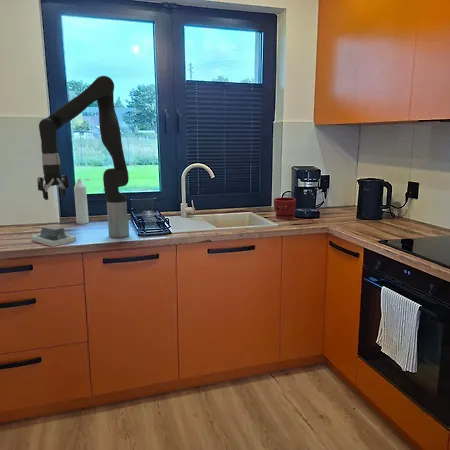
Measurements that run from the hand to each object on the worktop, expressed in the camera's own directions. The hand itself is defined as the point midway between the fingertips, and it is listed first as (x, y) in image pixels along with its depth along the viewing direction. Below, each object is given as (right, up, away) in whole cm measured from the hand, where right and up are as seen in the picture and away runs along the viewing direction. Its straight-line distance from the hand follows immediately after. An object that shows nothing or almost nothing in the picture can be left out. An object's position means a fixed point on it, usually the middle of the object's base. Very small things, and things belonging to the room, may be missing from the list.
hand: (54, 198), depth 193 cm
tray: (-1, -20, +2) cm, 20 cm away
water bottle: (0, -11, +42) cm, 43 cm away
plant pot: (+115, -9, +55) cm, 128 cm away
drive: (-1, -19, +1) cm, 19 cm away
